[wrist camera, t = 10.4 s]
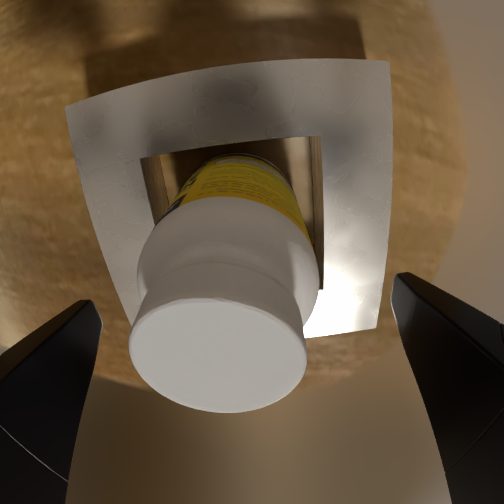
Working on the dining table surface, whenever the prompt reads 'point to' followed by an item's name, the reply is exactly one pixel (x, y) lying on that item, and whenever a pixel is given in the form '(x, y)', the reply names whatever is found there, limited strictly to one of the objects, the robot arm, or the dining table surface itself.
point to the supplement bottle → (226, 290)
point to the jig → (242, 130)
